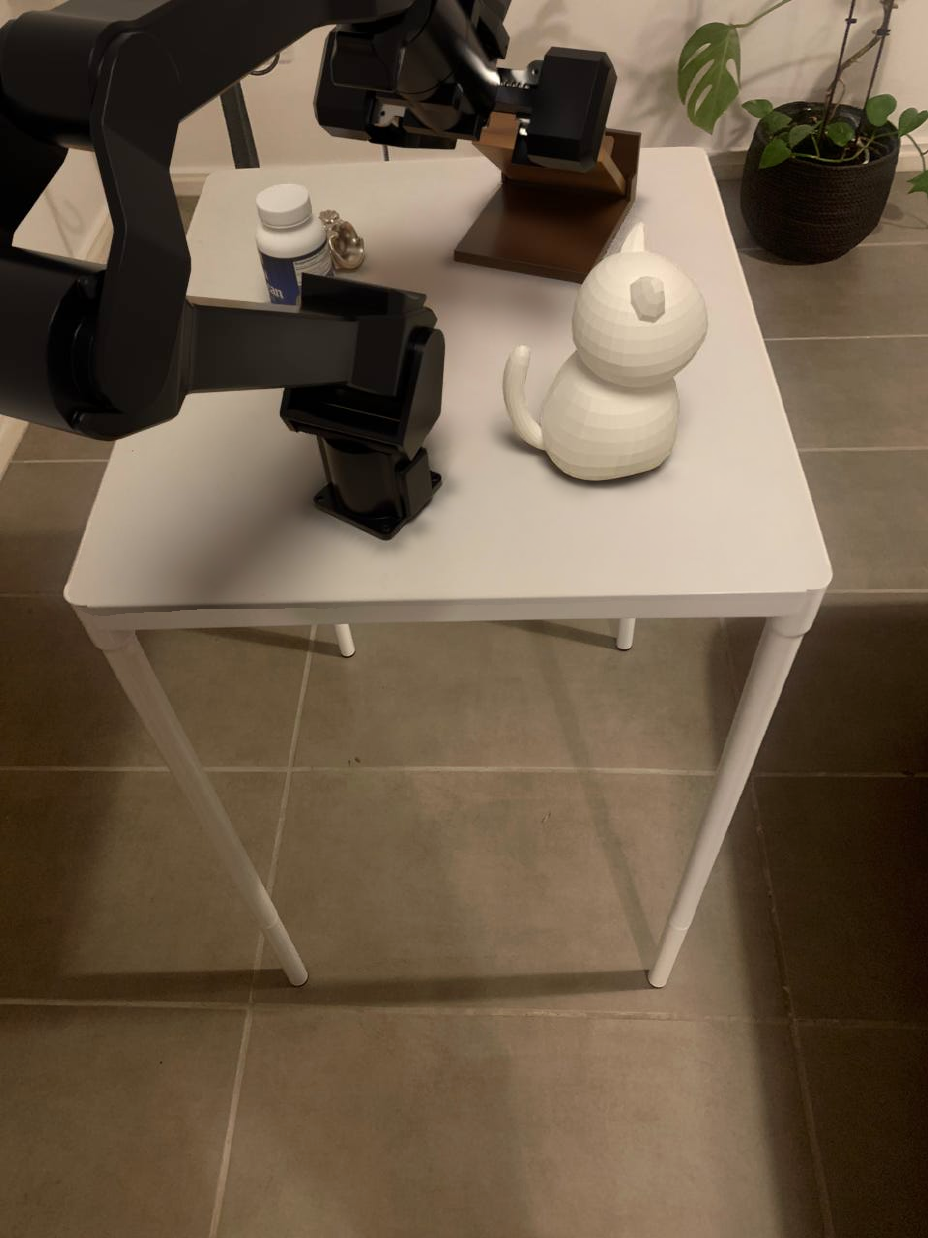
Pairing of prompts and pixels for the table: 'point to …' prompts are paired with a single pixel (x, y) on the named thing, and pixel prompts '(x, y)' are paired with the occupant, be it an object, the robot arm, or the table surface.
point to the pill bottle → (289, 241)
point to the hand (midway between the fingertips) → (496, 147)
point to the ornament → (342, 240)
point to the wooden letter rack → (600, 178)
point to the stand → (552, 222)
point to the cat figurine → (616, 367)
